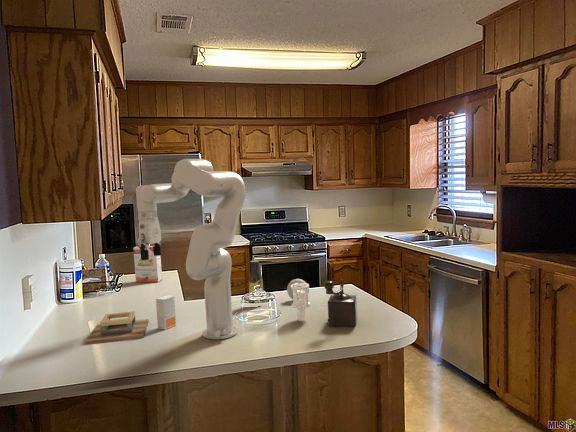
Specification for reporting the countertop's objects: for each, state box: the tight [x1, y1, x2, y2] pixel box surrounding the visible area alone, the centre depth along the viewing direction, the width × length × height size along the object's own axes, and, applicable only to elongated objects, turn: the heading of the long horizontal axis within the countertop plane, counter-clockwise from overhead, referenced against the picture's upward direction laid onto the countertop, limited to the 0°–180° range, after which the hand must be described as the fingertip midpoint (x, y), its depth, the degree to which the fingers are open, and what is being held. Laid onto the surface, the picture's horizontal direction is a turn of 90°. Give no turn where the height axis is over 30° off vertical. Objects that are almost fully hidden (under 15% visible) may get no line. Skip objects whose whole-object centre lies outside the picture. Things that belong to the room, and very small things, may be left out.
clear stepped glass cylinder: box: [291, 282, 311, 322], centre depth 184 cm, size 7×7×15 cm
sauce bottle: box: [248, 259, 264, 294], centre depth 209 cm, size 6×6×20 cm
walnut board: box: [85, 318, 150, 345], centre depth 181 cm, size 20×20×1 cm
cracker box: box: [132, 245, 163, 283], centre depth 273 cm, size 14×6×21 cm, turn 80°
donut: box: [286, 278, 310, 300], centre depth 213 cm, size 10×4×10 cm, turn 86°
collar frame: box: [99, 311, 137, 335], centre depth 181 cm, size 11×11×5 cm
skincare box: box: [155, 295, 177, 330], centre depth 184 cm, size 6×4×12 cm
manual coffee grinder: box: [323, 279, 358, 328], centre depth 175 cm, size 16×11×18 cm
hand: (151, 257), depth 191 cm, fingers open, 9 cm apart
